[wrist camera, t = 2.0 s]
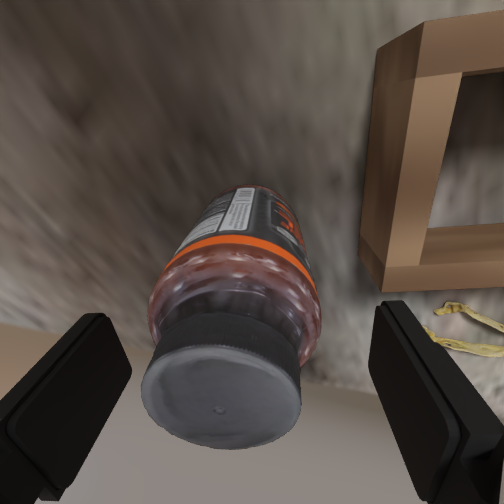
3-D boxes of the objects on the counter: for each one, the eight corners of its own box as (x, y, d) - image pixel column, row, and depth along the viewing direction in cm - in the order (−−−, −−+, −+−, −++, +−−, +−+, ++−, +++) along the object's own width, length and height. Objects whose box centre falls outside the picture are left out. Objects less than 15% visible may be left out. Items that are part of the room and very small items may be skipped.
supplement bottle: (313, 247, 17) (380, 449, 7) (233, 281, 18) (191, 485, 8) (271, 161, 14) (276, 273, 4) (184, 209, 16) (42, 372, 6)
